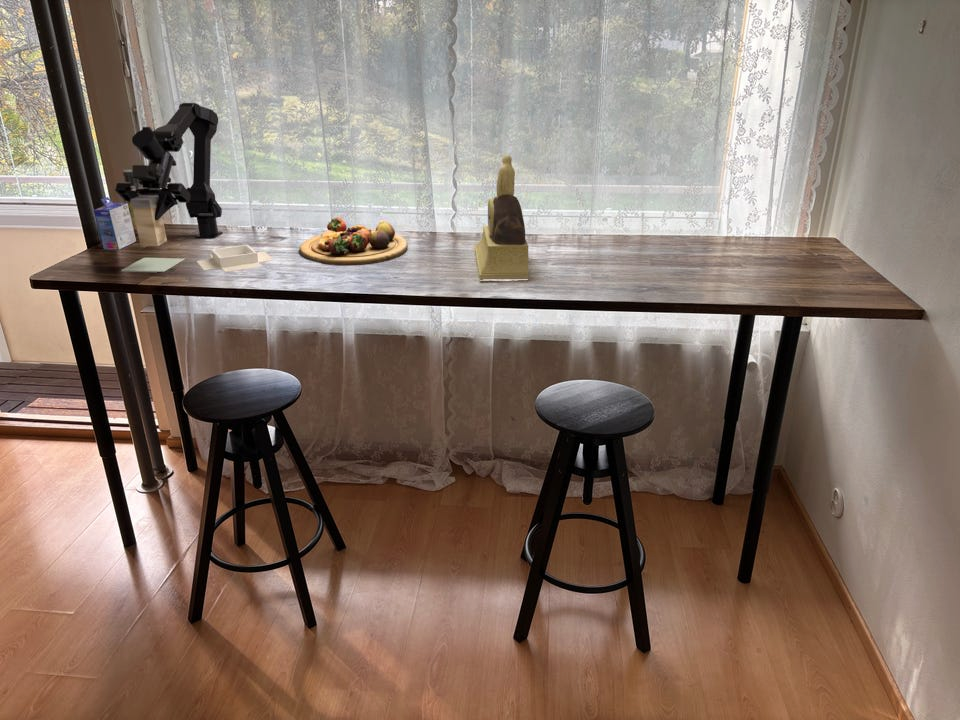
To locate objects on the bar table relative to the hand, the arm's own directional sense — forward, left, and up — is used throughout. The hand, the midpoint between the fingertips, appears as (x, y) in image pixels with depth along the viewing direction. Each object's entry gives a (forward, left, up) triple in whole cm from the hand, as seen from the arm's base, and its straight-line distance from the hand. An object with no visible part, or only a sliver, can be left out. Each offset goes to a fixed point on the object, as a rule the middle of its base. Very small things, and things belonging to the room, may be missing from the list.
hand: (146, 219), depth 189 cm
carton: (-7, +20, -13) cm, 25 cm away
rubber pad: (-1, -1, -13) cm, 13 cm away
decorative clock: (-10, +95, -14) cm, 96 cm away
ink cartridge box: (-20, -22, -14) cm, 33 cm away
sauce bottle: (-36, -24, -14) cm, 46 cm away
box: (-1, 0, -7) cm, 7 cm away
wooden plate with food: (-23, +50, -14) cm, 57 cm away
